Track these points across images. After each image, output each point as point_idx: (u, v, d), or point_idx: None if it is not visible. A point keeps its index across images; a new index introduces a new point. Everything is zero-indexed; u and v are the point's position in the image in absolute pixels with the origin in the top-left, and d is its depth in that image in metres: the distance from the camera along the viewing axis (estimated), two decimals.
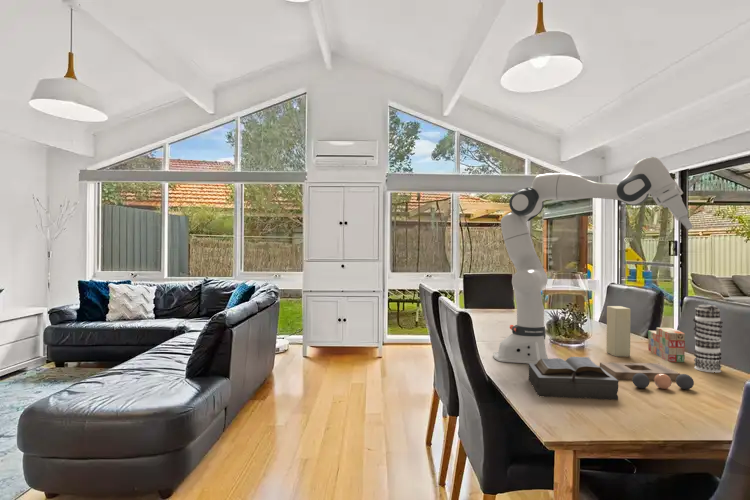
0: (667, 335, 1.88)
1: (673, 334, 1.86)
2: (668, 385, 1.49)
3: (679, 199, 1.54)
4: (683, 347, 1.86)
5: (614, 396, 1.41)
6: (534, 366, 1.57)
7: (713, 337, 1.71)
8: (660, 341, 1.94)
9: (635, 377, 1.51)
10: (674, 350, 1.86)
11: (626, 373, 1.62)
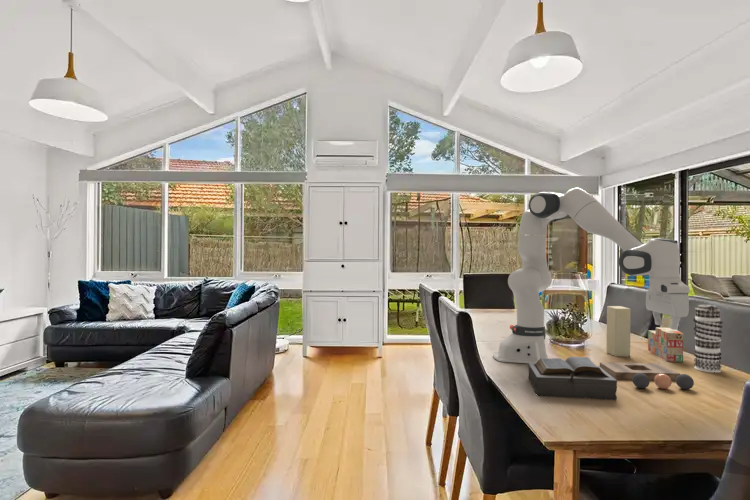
0: (665, 335, 1.89)
1: (671, 334, 1.87)
2: (668, 385, 1.49)
3: (687, 299, 1.41)
4: (682, 347, 1.86)
5: (612, 396, 1.40)
6: (533, 366, 1.57)
7: (713, 337, 1.71)
8: (659, 341, 1.95)
9: (635, 377, 1.51)
10: (672, 350, 1.87)
11: (626, 373, 1.62)
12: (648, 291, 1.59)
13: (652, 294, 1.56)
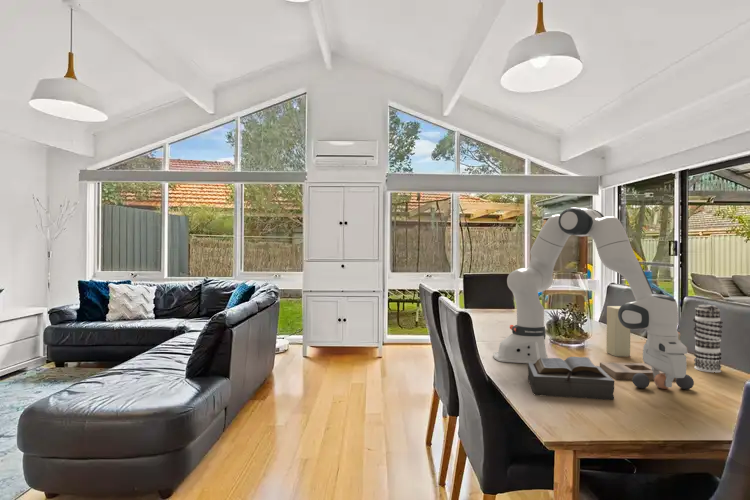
0: None
1: None
2: None
3: (685, 361, 1.41)
4: None
5: (610, 396, 1.40)
6: (532, 365, 1.58)
7: (713, 337, 1.71)
8: None
9: (635, 377, 1.51)
10: None
11: (626, 373, 1.62)
12: (645, 345, 1.59)
13: (649, 349, 1.56)
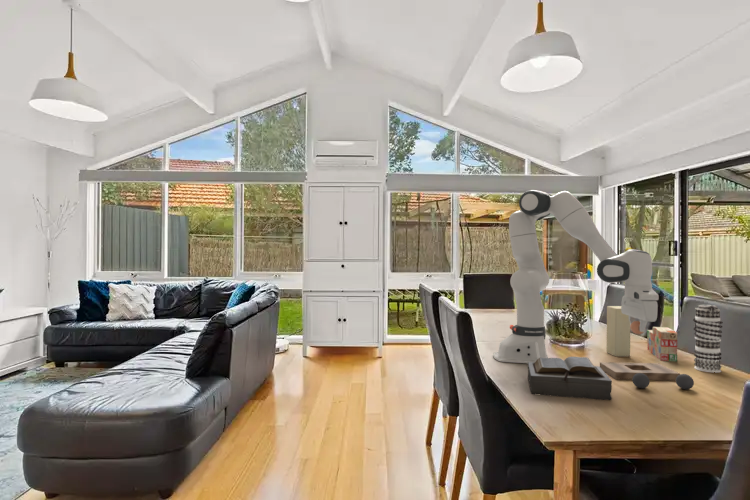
0: (659, 334, 1.90)
1: (665, 333, 1.88)
2: None
3: (656, 306, 1.58)
4: (676, 346, 1.87)
5: (607, 396, 1.40)
6: (532, 365, 1.59)
7: (713, 337, 1.71)
8: (655, 340, 1.96)
9: (635, 377, 1.51)
10: (666, 349, 1.88)
11: (626, 373, 1.62)
12: (623, 297, 1.75)
13: (627, 300, 1.72)
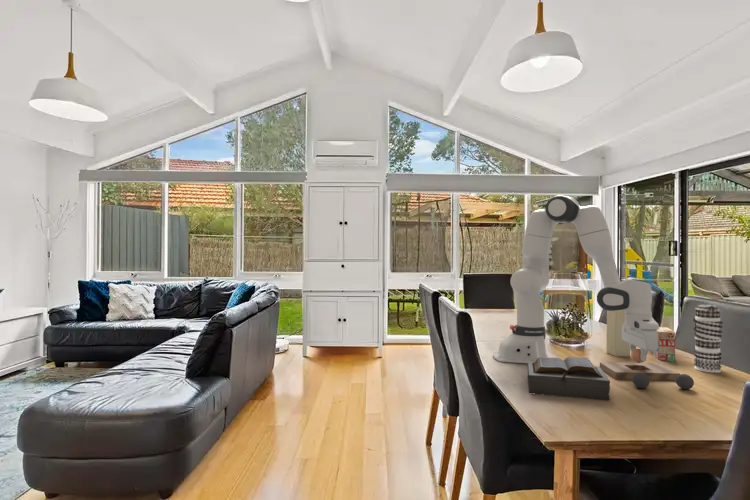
0: None
1: (663, 333, 1.89)
2: None
3: (657, 336, 1.58)
4: (673, 346, 1.87)
5: (605, 396, 1.40)
6: (531, 364, 1.59)
7: (713, 337, 1.71)
8: None
9: (635, 377, 1.51)
10: (664, 349, 1.89)
11: (626, 373, 1.62)
12: (624, 324, 1.75)
13: (627, 327, 1.73)
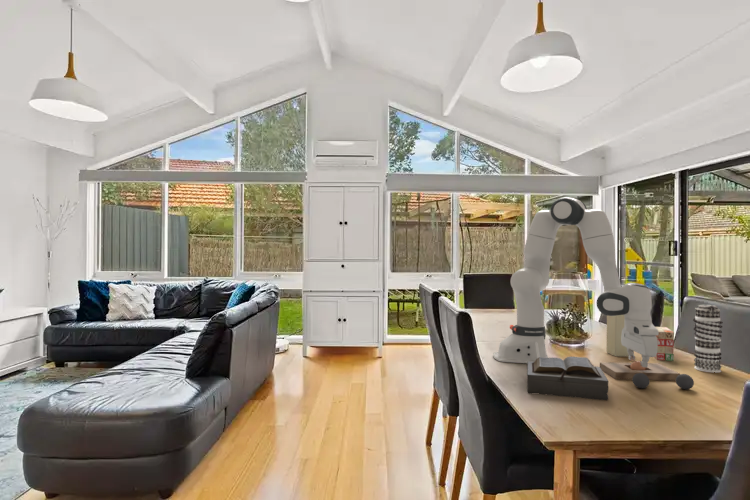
0: None
1: (662, 333, 1.89)
2: None
3: (656, 341, 1.58)
4: (672, 346, 1.88)
5: (604, 396, 1.40)
6: (531, 364, 1.60)
7: (713, 337, 1.71)
8: None
9: (635, 377, 1.51)
10: (662, 349, 1.89)
11: (626, 373, 1.62)
12: (623, 329, 1.75)
13: (627, 332, 1.73)
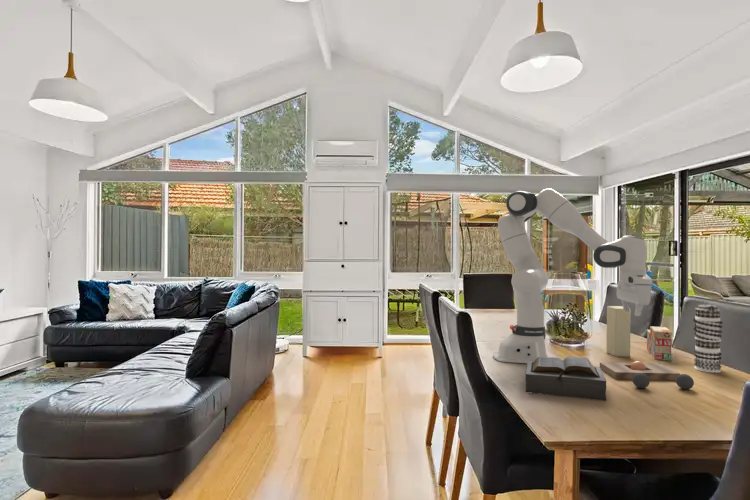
0: (654, 334, 1.92)
1: (659, 332, 1.90)
2: None
3: (649, 290, 1.63)
4: (670, 346, 1.88)
5: (602, 396, 1.40)
6: (530, 364, 1.60)
7: (713, 337, 1.71)
8: (651, 339, 1.98)
9: (635, 377, 1.51)
10: (660, 349, 1.90)
11: (626, 373, 1.62)
12: (619, 282, 1.80)
13: (622, 284, 1.77)
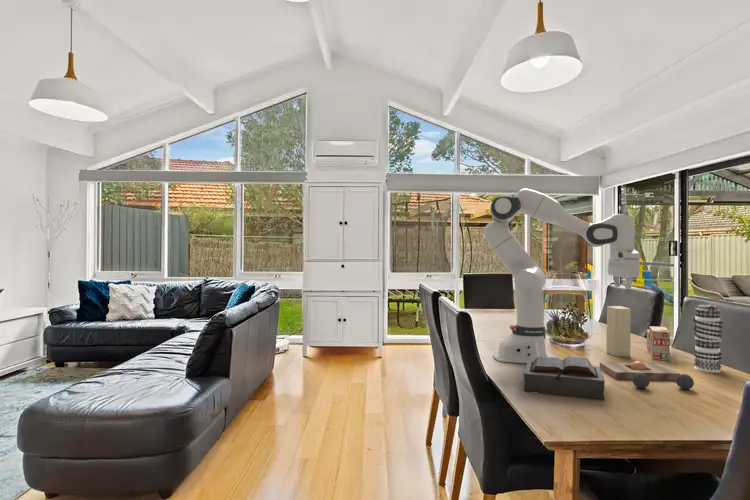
0: (652, 333, 1.92)
1: (658, 332, 1.90)
2: None
3: (638, 263, 1.73)
4: (668, 345, 1.89)
5: (600, 396, 1.40)
6: (530, 363, 1.61)
7: (713, 337, 1.71)
8: (650, 339, 1.98)
9: (635, 377, 1.51)
10: (658, 348, 1.90)
11: (626, 373, 1.62)
12: (610, 259, 1.90)
13: (612, 261, 1.87)
